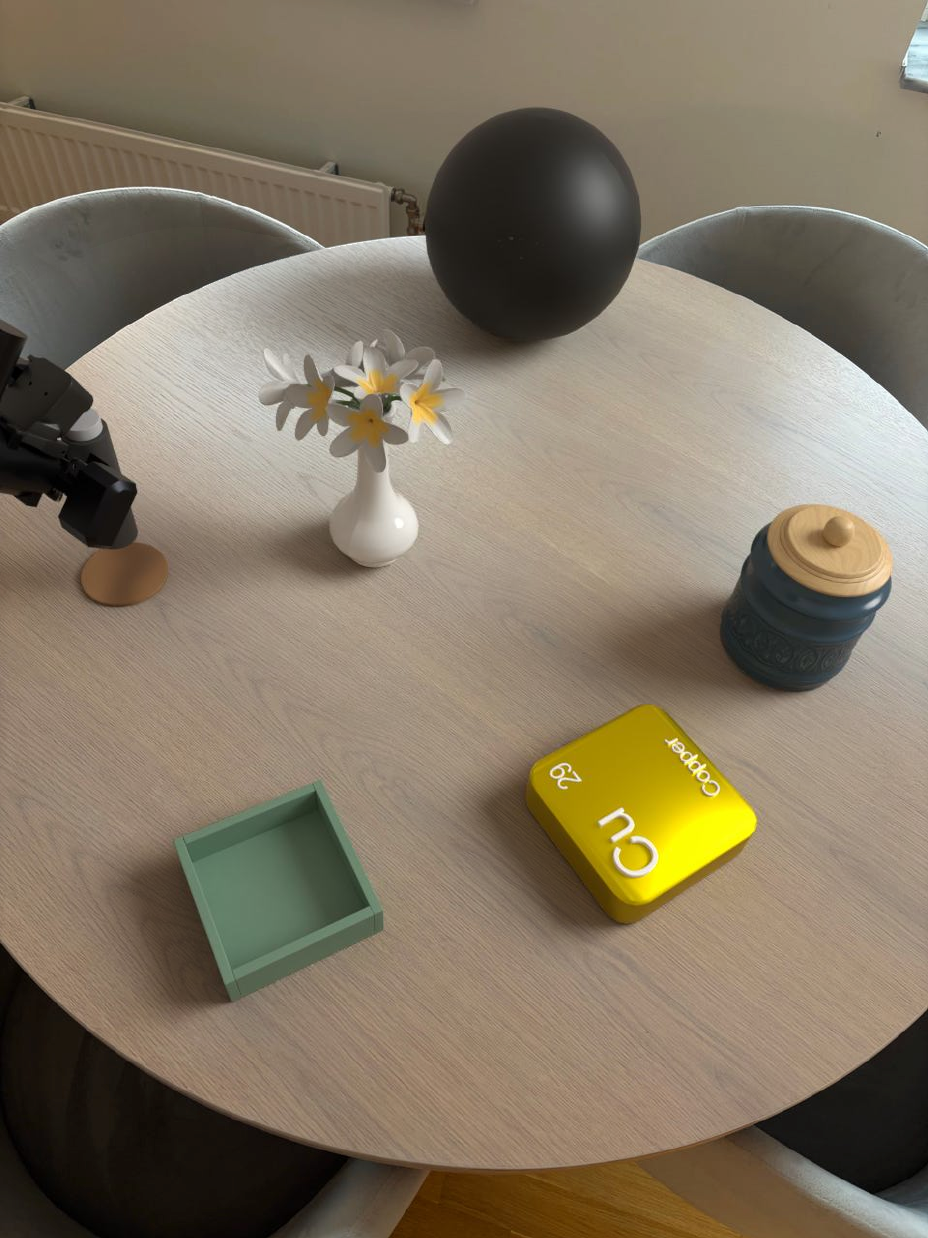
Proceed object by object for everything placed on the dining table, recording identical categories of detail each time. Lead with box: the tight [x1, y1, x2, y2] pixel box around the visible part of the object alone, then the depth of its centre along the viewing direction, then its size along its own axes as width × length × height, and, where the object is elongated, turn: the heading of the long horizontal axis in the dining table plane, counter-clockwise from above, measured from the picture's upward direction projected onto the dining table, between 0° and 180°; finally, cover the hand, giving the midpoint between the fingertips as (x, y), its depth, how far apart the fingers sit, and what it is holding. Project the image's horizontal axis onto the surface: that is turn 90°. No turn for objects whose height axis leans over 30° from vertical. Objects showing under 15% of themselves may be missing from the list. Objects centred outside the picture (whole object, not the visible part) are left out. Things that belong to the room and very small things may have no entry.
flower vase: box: [257, 328, 467, 569], centre depth 92 cm, size 13×18×25 cm
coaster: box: [80, 541, 169, 608], centre depth 97 cm, size 8×8×1 cm
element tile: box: [524, 703, 758, 925], centre depth 82 cm, size 15×15×5 cm
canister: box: [719, 503, 894, 692], centre depth 90 cm, size 13×13×18 cm
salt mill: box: [60, 407, 139, 550], centre depth 86 cm, size 4×4×14 cm
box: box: [172, 779, 384, 1003], centre depth 76 cm, size 13×13×4 cm
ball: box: [424, 106, 642, 342], centre depth 119 cm, size 27×27×27 cm
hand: (114, 481), depth 88 cm, fingers closed on salt mill, 4 cm apart
